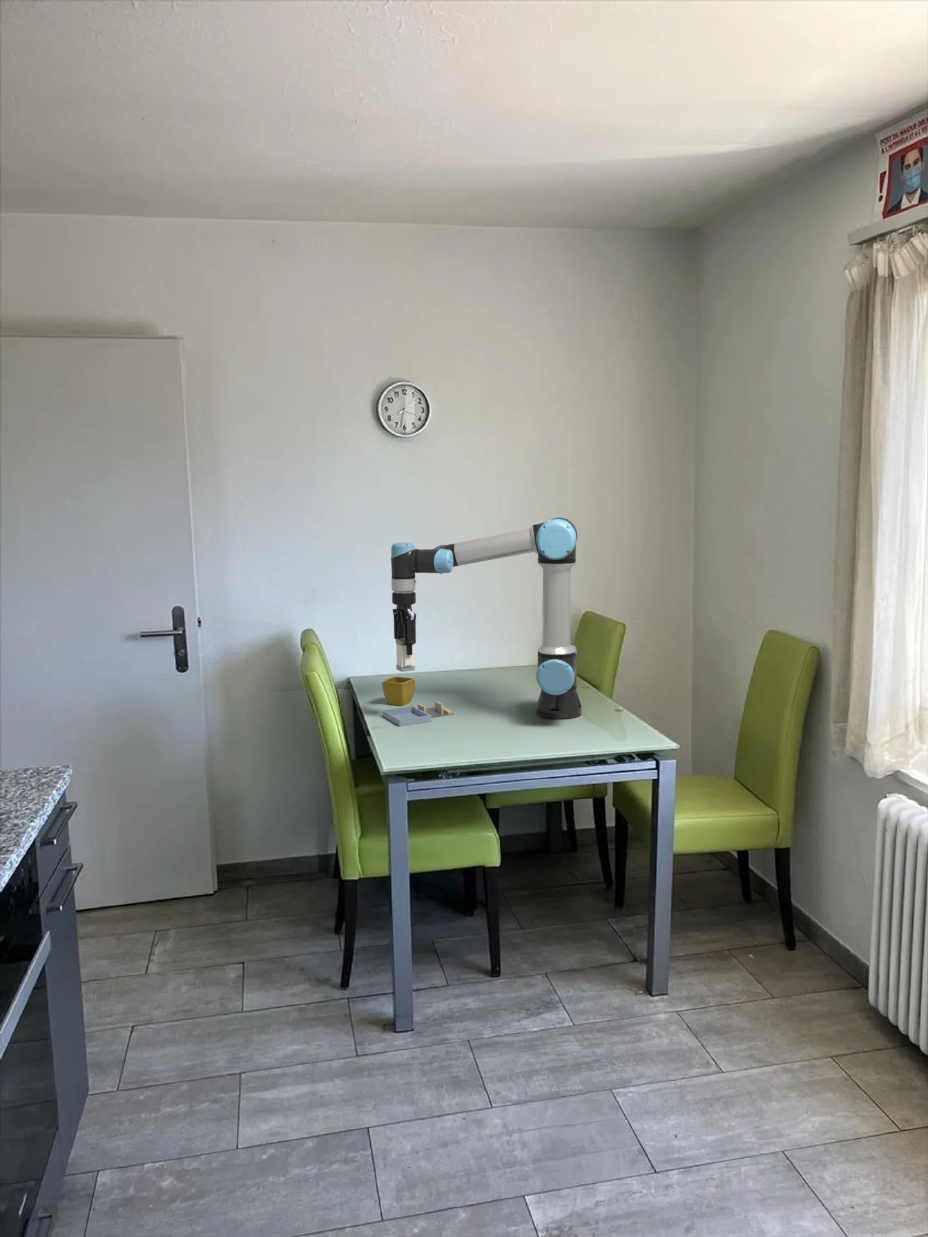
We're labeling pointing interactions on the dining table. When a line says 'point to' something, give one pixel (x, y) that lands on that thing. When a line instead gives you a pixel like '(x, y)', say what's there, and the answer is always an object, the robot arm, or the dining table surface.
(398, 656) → the block
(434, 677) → the dining table surface
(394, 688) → the flower pot
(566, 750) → the dining table surface
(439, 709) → the block
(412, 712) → the tray
